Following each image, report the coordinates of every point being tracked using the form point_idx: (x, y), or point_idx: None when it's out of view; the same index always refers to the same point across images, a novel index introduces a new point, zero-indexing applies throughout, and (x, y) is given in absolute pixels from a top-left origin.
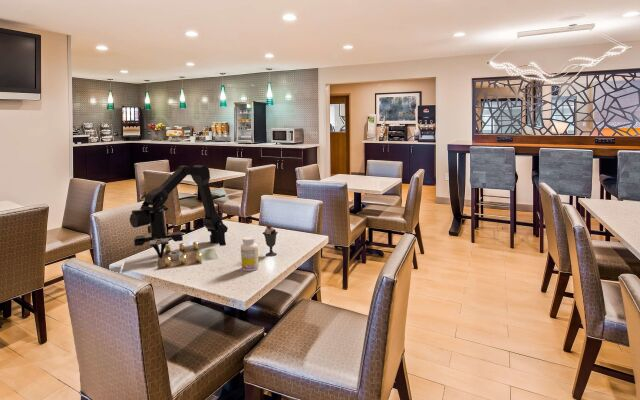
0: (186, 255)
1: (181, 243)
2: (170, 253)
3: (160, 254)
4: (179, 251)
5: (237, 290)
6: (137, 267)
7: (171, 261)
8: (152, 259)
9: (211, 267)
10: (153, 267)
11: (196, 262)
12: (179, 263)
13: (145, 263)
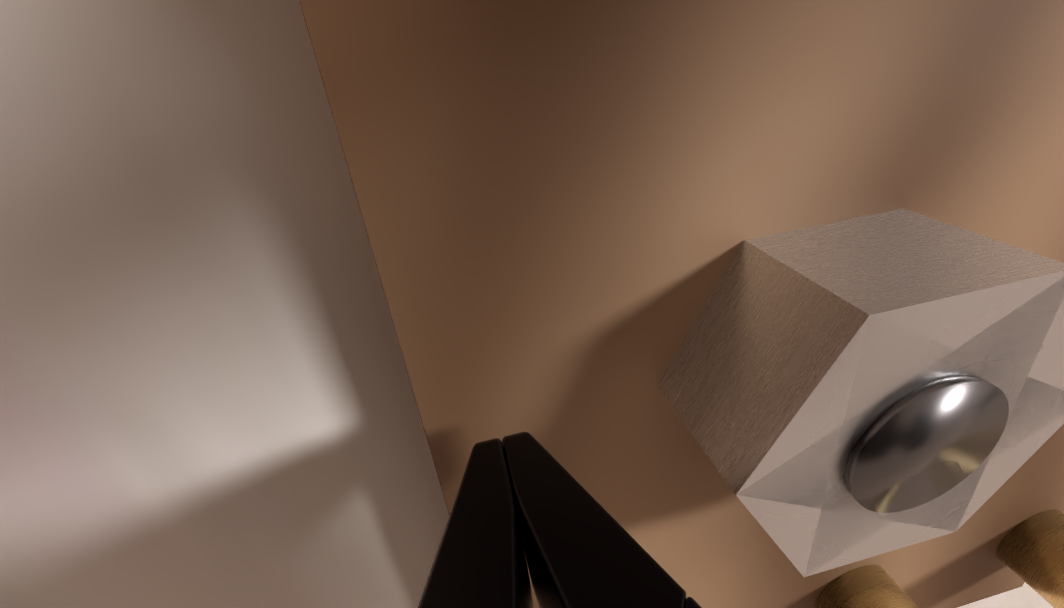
0: (1049, 198)
1: None
2: (800, 492)
3: (525, 562)
4: (1055, 358)
5: None
6: (25, 572)
7: (707, 507)
8: (105, 33)
9: None
10: (392, 570)
11: (999, 556)
12: (806, 578)
13: (73, 370)
